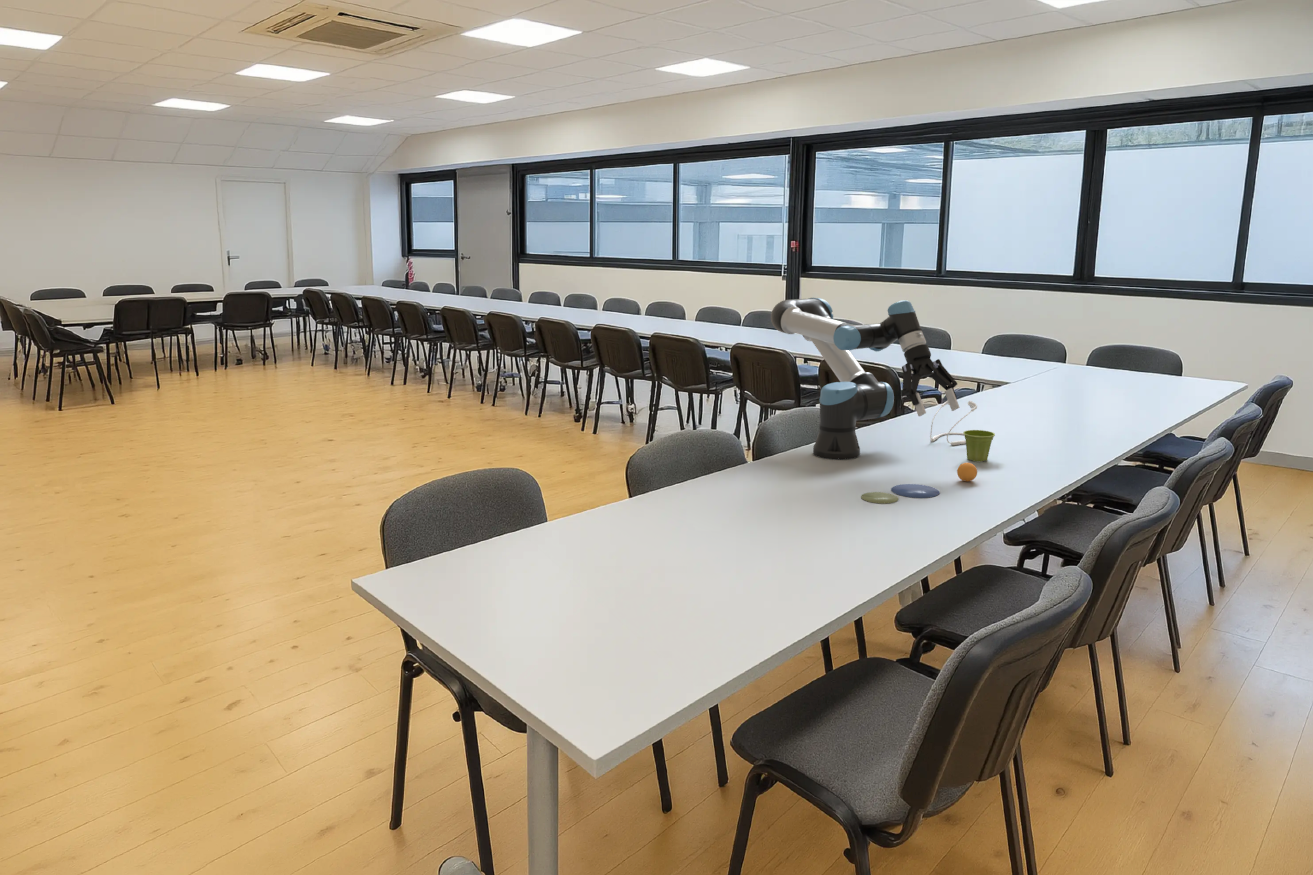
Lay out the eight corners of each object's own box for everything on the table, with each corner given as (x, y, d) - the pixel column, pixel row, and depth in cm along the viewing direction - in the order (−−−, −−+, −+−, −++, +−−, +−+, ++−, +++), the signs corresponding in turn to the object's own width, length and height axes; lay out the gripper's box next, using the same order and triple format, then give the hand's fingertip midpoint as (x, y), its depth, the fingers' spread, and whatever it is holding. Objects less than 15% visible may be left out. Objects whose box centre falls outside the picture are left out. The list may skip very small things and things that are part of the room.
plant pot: (995, 463, 267) (997, 436, 265) (963, 462, 269) (965, 435, 267) (990, 456, 276) (992, 430, 274) (959, 455, 278) (961, 429, 276)
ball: (952, 480, 250) (953, 462, 248) (965, 477, 252) (967, 459, 251) (967, 484, 245) (968, 466, 244) (980, 482, 247) (982, 463, 246)
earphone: (918, 431, 295) (942, 393, 301) (933, 461, 305) (956, 424, 311) (954, 437, 285) (978, 398, 291) (968, 468, 295) (991, 429, 301)
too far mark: (853, 496, 236) (853, 495, 236) (881, 490, 240) (881, 490, 240) (878, 505, 227) (878, 504, 227) (906, 500, 232) (906, 499, 232)
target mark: (881, 488, 242) (881, 488, 242) (915, 482, 248) (915, 481, 248) (914, 500, 231) (914, 499, 231) (949, 493, 237) (949, 492, 237)
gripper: (891, 346, 254) (916, 412, 249) (953, 339, 265) (977, 402, 260) (876, 357, 261) (900, 421, 255) (937, 350, 272) (960, 411, 266)
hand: (939, 412), depth 258 cm, fingers open, 13 cm apart
